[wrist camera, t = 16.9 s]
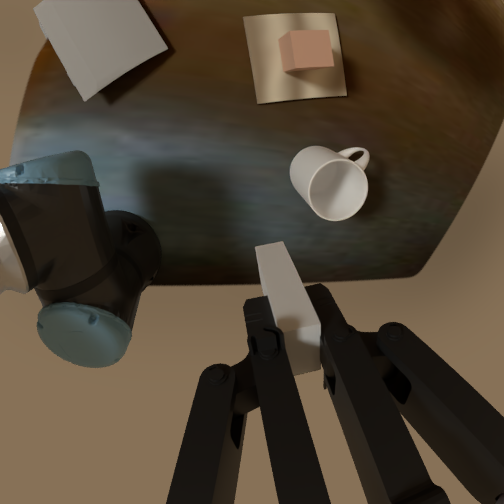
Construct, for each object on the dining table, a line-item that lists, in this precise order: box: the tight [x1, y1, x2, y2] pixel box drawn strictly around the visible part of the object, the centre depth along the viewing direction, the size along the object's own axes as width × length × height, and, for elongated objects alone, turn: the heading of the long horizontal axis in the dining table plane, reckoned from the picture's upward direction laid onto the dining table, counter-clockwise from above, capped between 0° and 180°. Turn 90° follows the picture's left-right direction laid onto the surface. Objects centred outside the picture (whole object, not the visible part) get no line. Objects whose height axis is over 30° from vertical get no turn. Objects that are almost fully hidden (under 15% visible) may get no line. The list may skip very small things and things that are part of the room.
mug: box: [290, 146, 369, 221], centre depth 43 cm, size 9×12×11 cm
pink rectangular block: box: [278, 30, 334, 72], centre depth 35 cm, size 5×5×7 cm
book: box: [33, 0, 168, 102], centre depth 31 cm, size 15×23×4 cm, turn 27°
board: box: [243, 13, 347, 104], centre depth 38 cm, size 14×14×1 cm
